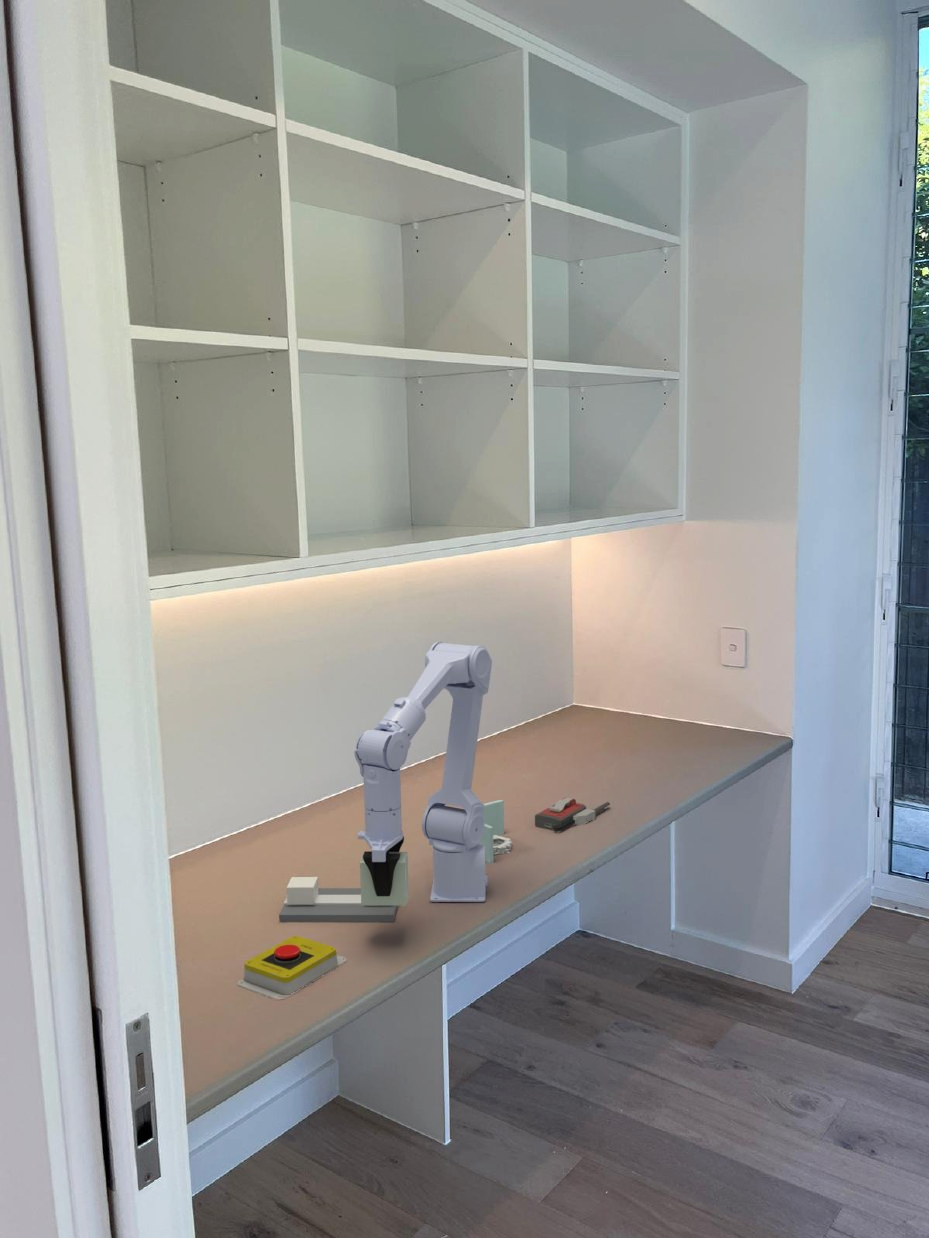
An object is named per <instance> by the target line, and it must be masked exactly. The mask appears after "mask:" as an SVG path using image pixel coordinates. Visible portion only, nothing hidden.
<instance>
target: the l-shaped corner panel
mask: <svg viewBox="0 0 929 1238" xmlns="http://www.w3.org/2000/svg"><path fill="white" fill-rule="evenodd" d="M483 804H484V811H483V816H484V823H485V828H484V834H483V837H482V839H481V841H480V842H479V843H478V844H483V845H485V854H486V863H488V864H493V863H494V862H495V861H494V855H495V856H496V855H505V854H510V851H512V848H513V841H512V839H511V838H508V837H504V836H502V835H504V834H505V801H504V800H502V799H498V800H493V801H490V802H486V803H483Z"/></svg>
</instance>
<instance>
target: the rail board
mask: <svg viewBox="0 0 929 1238" xmlns="http://www.w3.org/2000/svg"><path fill="white" fill-rule="evenodd" d="M285 897H286V898H285V899H284V901H283V906H282V908H281V910H280V912H279V914H278V919H279V920H278V921H279V923H281V922H282V923H290V922H291V923H310V922H311V923H313V922H314V923H325V922H326V923H331V922H332V923H340V922H341V923H372V922H373V923H381V922H382V923H389V922H390V923H394V921H395V918H396V913H397V910H398V909H397V908H398V906H399V905H376V906H361V887H357V888H356V887H352V888H351V887H346V888H345V887H344V888H343V887H339V888H338V887H335V888H334V887H329V888H328V887H320V888H319V877H318V876H291V878H290V880H289V882H288V884H287V886H286V896H285Z"/></svg>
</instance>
